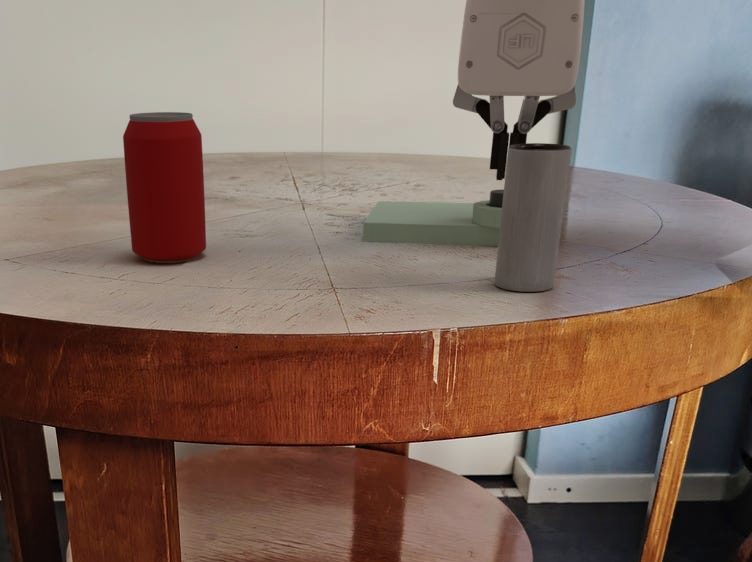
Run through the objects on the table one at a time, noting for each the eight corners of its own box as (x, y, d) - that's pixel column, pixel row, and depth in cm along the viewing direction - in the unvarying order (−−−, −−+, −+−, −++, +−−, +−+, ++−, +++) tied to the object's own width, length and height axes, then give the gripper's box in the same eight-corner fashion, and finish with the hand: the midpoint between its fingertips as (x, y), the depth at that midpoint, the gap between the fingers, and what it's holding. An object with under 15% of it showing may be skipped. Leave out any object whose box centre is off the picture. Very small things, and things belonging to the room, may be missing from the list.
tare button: (518, 206, 86) (520, 189, 85) (519, 211, 83) (521, 194, 83) (488, 206, 86) (490, 189, 86) (488, 210, 84) (490, 193, 83)
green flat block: (526, 223, 95) (530, 188, 94) (532, 249, 83) (537, 210, 82) (377, 219, 98) (378, 185, 97) (361, 244, 86) (363, 206, 85)
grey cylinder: (563, 285, 71) (583, 145, 66) (534, 295, 68) (552, 150, 64) (513, 276, 74) (528, 141, 69) (483, 285, 71) (496, 146, 66)
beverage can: (184, 247, 86) (177, 110, 80) (220, 259, 81) (215, 114, 75) (120, 255, 83) (107, 114, 77) (153, 269, 78) (142, 118, 72)
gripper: (437, -55, 73) (421, 182, 82) (630, -60, 70) (593, 186, 79) (441, -48, 80) (426, 171, 88) (618, -51, 77) (584, 175, 85)
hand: (505, 177), depth 84 cm, fingers closed
